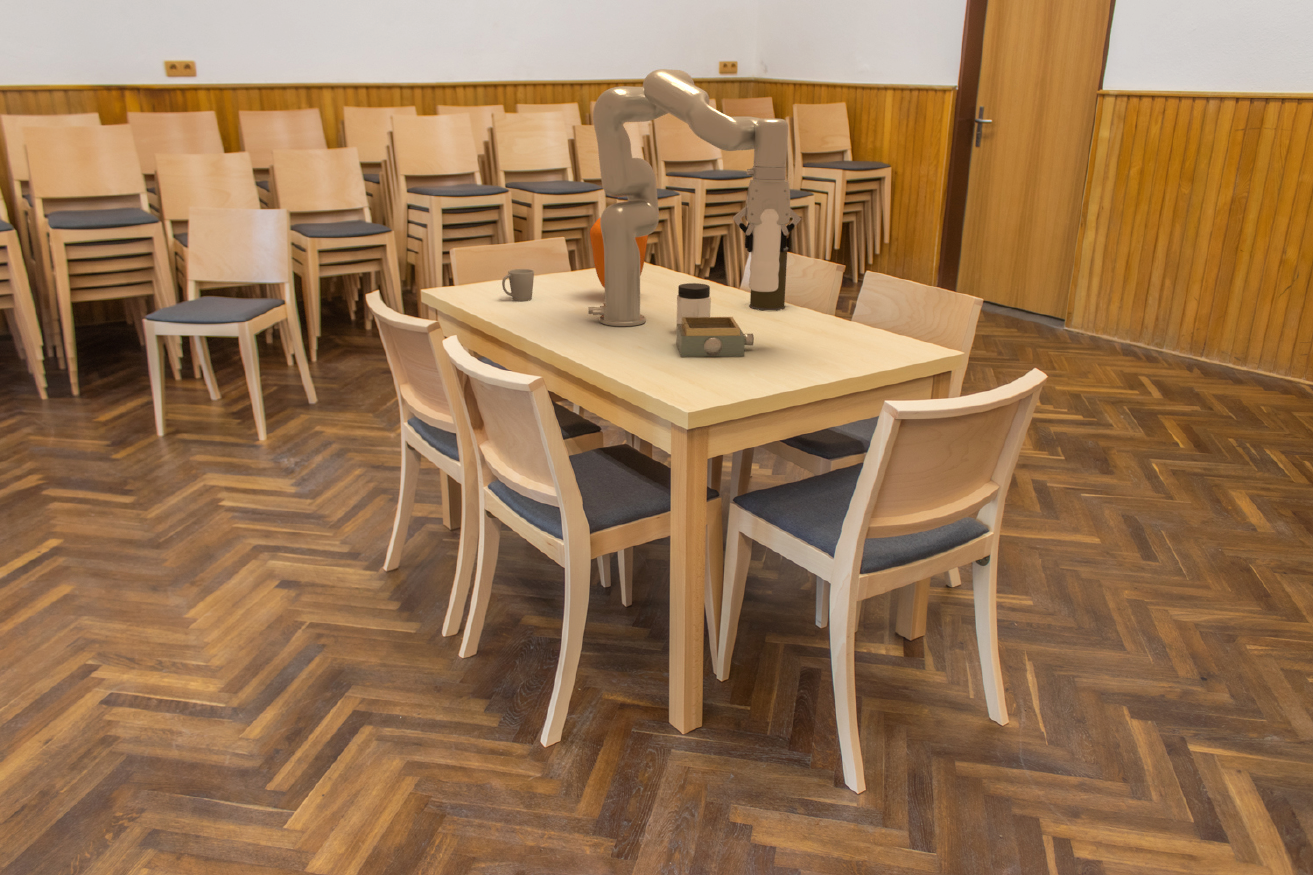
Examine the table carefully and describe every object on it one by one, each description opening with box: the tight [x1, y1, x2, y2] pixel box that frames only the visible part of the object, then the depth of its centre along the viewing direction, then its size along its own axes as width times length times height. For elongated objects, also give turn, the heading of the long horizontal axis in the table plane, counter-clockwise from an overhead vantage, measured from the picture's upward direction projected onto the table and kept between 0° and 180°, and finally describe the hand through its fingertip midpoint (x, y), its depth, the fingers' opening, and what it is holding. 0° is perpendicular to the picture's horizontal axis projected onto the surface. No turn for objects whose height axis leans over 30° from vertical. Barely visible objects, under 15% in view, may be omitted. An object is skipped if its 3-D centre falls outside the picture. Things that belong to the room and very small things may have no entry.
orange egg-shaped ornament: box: [589, 216, 649, 289], centre depth 288 cm, size 17×17×25 cm
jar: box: [676, 282, 712, 325], centre depth 251 cm, size 9×8×12 cm
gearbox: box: [675, 316, 755, 358], centre depth 234 cm, size 18×14×7 cm
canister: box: [749, 246, 789, 311], centre depth 280 cm, size 11×10×20 cm
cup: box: [501, 268, 535, 302], centre depth 288 cm, size 8×10×8 cm
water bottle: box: [748, 209, 781, 292], centre depth 230 cm, size 7×7×25 cm
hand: (765, 250), depth 231 cm, fingers closed on water bottle, 7 cm apart
